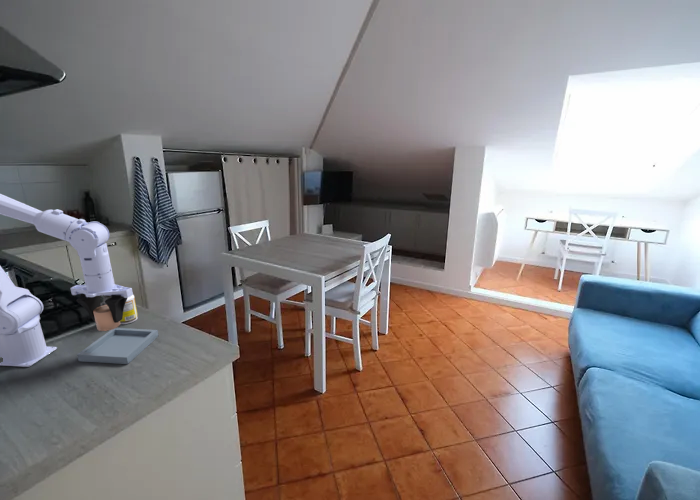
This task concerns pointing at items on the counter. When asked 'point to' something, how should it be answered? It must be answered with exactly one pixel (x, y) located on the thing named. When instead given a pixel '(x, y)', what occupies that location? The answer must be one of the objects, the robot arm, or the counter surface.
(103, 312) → the terracotta cup
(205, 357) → the counter surface
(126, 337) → the tray
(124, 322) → the supplement bottle
